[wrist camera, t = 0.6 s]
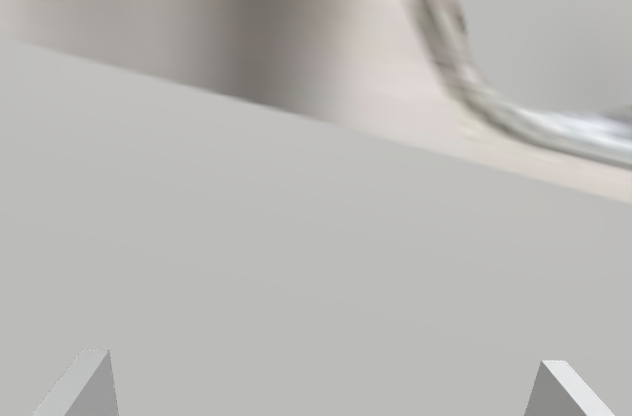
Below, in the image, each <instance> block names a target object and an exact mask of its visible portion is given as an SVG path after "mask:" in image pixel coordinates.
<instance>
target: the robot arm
mask: <svg viewBox="0 0 632 416" xmlns="http://www.w3.org/2000/svg"><path fill="white" fill-rule="evenodd" d="M31 416H119V415H118V408H117V401H116V395H115V388H114V381H113V374H112V367H111V360H110V353H109V350H82V351H81V352H80V354H78V356H77V357H76V358H75V360H74V361H73V362H72V363H71V365H70V366H69V367H68V369H67V370H66V371H65V372H64V374H63V375H62V376H61V378H60V379H59V380H58V382H57V383H56V384H55V385H54V386H53V388H52V389H51V390H50V391H49V393H48V394H47V395H46V397H45V398H44V399H43V400H42V402H41V403H40V404H39V406H38V407H37V408H36V409H35V411H34V412H33V413H32V415H31ZM524 416H615V415H614V414H613V413H612V412H611V411H610V410H609V409H608V408H607V407H606V405H605V404H604V403H603V402H602V401H601V400H600V399H599V398H598V397H597V396H596V394H595V393H594V392H593V391H592V390H591V389H590V388H589V387H588V386H587V384H586V383H585V382H584V381H583V380H582V379H581V378H580V377H579V376H578V375H577V374H576V372H575V371H574V370H573V369H572V368H571V367H570V366H569V365H568V364H567V363H566V361H546V360H541V363H540V367H539V370H538V373H537V376H536V380H535V383H534V386H533V389H532V393H531V396H530V399H529V402H528V406H527V408H526V412H525V415H524Z"/></svg>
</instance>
